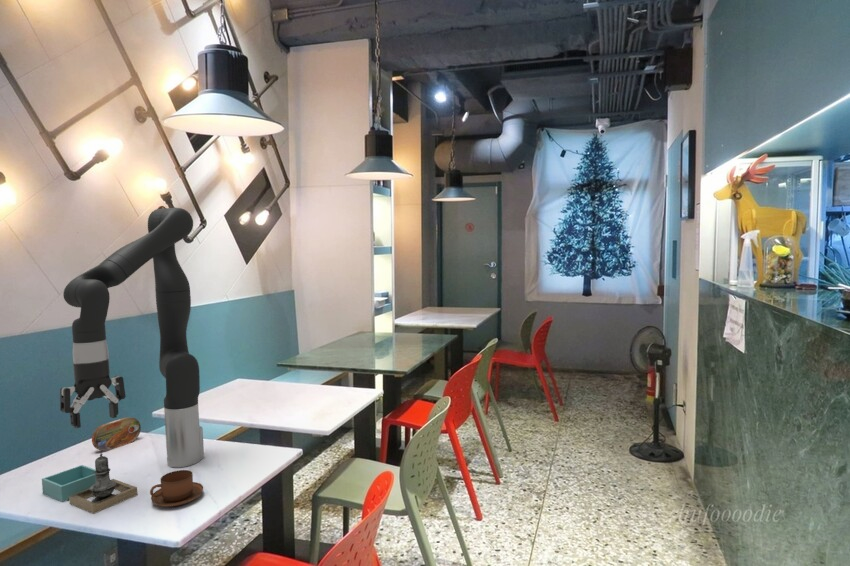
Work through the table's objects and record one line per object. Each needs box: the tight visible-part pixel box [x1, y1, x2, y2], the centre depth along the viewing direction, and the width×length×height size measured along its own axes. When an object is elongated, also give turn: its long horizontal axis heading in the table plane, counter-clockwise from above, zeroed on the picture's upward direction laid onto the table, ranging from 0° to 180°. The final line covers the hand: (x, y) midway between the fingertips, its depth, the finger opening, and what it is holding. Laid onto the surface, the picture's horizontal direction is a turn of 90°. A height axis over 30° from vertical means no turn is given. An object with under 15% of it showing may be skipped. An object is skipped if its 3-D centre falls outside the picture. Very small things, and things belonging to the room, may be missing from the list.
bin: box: [41, 464, 96, 503], centre depth 140 cm, size 10×10×4 cm
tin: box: [91, 416, 142, 452], centre depth 172 cm, size 15×3×8 cm, turn 152°
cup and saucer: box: [149, 469, 204, 508], centre depth 134 cm, size 12×12×6 cm
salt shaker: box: [90, 453, 116, 503], centre depth 134 cm, size 6×6×12 cm
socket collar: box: [68, 478, 139, 515], centre depth 135 cm, size 11×11×2 cm
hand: (95, 422), depth 133 cm, fingers open, 8 cm apart
